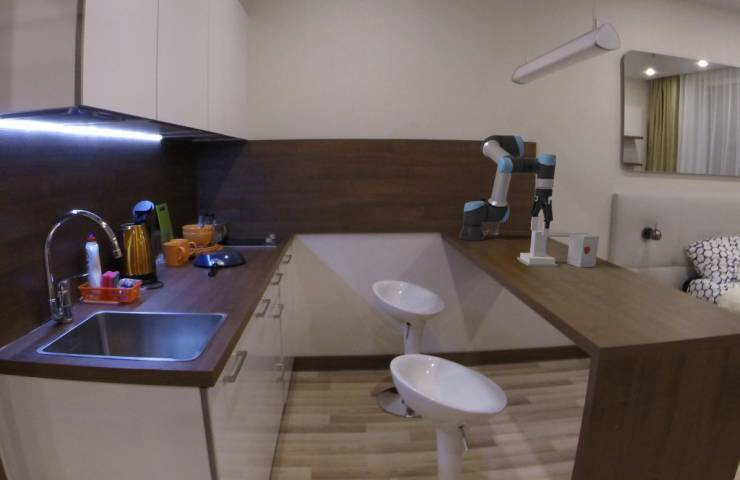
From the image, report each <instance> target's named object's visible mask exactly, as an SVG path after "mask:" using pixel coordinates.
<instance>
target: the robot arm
mask: <svg viewBox="0 0 740 480" xmlns="http://www.w3.org/2000/svg"><path fill="white" fill-rule="evenodd" d="M480 151H481V152H482V154H483V155H484V156H485V157H486V158H489V159H491V160H492V161H493V162H494V163H496V164H497V168H496V173H495V177H494V182H493V183H494V184H493V186H492V192H491V197H490V198H489V199H488V200H487V203H485V201H483V200H475V201H474V200H473V201H468V202H466V203H464V207H463V220H462V221H463V222H462V223H463V224H462V228H461V230H460V232H459V235H458V236H459V239H460V240H463V241H470V242H481V241H485V233H484V230H483V229H484V228H483V224H484V223H489V224H490V223H491V224H492V223H493V224H494V223H496V224H499V223H504V222H506V221H507V220H508V219H509V216H510V209H511V207H510V206H509V204H508V201H507V196H508V191H509V186H510V182H511V178H512V174H514V175H515V174H518V175H519V174H520V175H521V174H523V175H536V180H535V183H536V184H535V189H534V196H535V197H534V198H533V199H534V200H533V203H532V207H531V210H530V216H531V222H530V223H531V225H530V231H532V230H537V231H538V223H539V222H538V221H539V217H540V216H539V213H540V212H541V210H542V214H543V218H544V219H543V224H542V231H543V232H542V235H543V236H547V237H548V236H549V235H550V228H551V222H553V221H554V216H553V214H554V213H553V200H552V199H550V198H552V196H553V193H554V192H553V191H554V190H553V189H552V188H554V182H555V173H556V164H557V162H556V161H557V155H555V154H548V153H547V154H546V153H545V154H543V153H542V154H539V155H538V157H536V158H535V157H523V154H524V153H525V143H524V140H523V138H522V137H521V135H520V136H519V135H514V134H513V135H508V134H507V135H505V134H504V135H503V134H502V135H501V134H492V135H489V136H488V137H486V138H484V140H483V141H482V142H481V145H480Z"/></svg>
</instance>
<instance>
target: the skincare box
mask: <svg viewBox="0 0 740 480" xmlns="http://www.w3.org/2000/svg"><path fill="white" fill-rule="evenodd" d="M542 232H543V230H538V229H537V230H531V236H530V237H531V238H530V249H529V253H530V255H532V256H545V255H546V254H547V253H546V252H547V243H548V236H543V235H542Z"/></svg>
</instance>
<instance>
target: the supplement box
mask: <svg viewBox="0 0 740 480" xmlns="http://www.w3.org/2000/svg"><path fill="white" fill-rule="evenodd" d="M599 240H600V235H596V234H592V233H589V232H570V235H569V244H568V251H567V257H566V258H567V260H566V264H569V265H572V266H574V267H577V268H595V267H596V262H597V253H598V247H599Z"/></svg>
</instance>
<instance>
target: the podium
mask: <svg viewBox="0 0 740 480" xmlns="http://www.w3.org/2000/svg"><path fill="white" fill-rule="evenodd" d="M516 260H517V261H519V262H521V263H522V264H523V265H525V266H527V267H551V268H553V267H554V268H556V267H559V266H558V265H559V264H558V263H556V257H553V256H551V255H550V254H547V253H546V255H545V256H532V255H530V252H520V253H519V257H518V256H517V258H516Z"/></svg>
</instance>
